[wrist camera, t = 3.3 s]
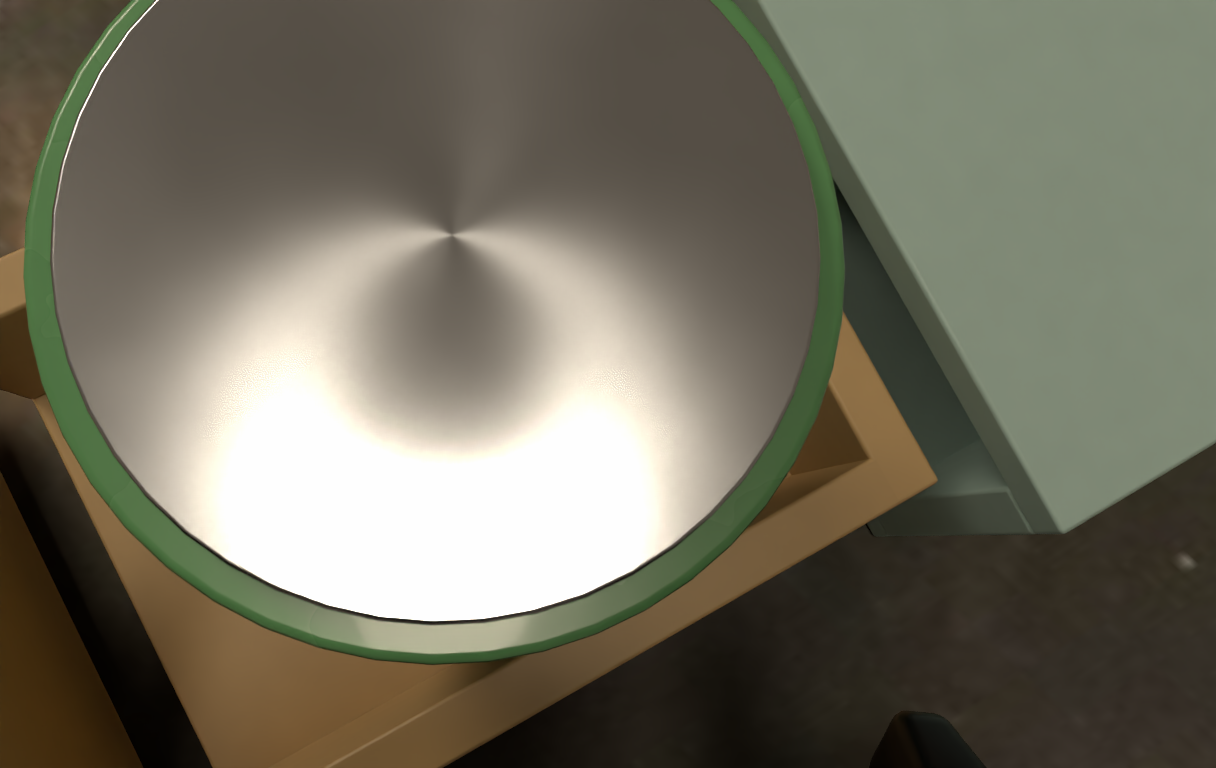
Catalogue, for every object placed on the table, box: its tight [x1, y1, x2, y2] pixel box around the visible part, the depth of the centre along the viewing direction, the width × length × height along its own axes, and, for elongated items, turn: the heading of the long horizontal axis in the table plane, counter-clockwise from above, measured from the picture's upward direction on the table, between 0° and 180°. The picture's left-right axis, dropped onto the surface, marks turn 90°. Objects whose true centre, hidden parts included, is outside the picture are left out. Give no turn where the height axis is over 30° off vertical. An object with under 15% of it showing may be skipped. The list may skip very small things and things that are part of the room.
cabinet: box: [732, 0, 1216, 537], centre depth 20 cm, size 16×12×7 cm
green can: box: [23, 0, 845, 665], centre depth 13 cm, size 6×6×11 cm
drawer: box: [0, 247, 938, 768], centre depth 16 cm, size 19×10×5 cm, turn 118°
